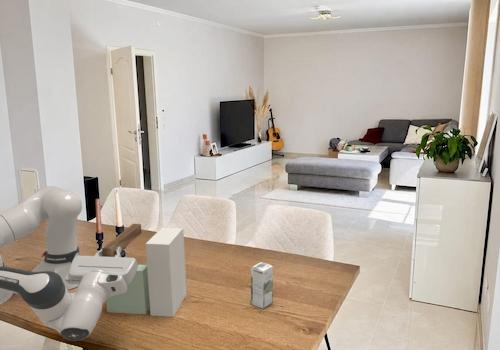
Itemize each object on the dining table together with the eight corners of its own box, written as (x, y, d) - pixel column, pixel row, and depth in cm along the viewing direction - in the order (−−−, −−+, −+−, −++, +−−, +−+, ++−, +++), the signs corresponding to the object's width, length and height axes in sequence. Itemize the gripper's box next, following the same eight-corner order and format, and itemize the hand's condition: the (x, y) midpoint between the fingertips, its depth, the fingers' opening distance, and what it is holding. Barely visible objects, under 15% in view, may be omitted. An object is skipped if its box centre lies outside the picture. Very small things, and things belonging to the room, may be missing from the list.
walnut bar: (102, 258, 131) (101, 248, 131) (133, 232, 155) (133, 223, 154) (111, 259, 131) (111, 248, 130) (141, 233, 154) (140, 224, 154)
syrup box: (260, 298, 154) (260, 261, 151) (273, 303, 151) (273, 265, 148) (250, 304, 150) (250, 266, 147) (263, 309, 146) (263, 270, 143)
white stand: (150, 315, 144) (145, 243, 139) (166, 293, 159) (162, 227, 154) (173, 316, 143) (168, 244, 137) (186, 294, 158) (183, 228, 153)
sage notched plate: (107, 312, 147) (103, 269, 143) (113, 304, 151) (109, 263, 148) (145, 314, 145) (142, 271, 141) (150, 306, 150) (147, 264, 146)
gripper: (67, 289, 128) (85, 252, 138) (131, 292, 125) (144, 254, 135) (59, 277, 123) (78, 240, 134) (125, 280, 121) (139, 242, 131)
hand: (112, 247), depth 134 cm, fingers closed on walnut bar, 3 cm apart
